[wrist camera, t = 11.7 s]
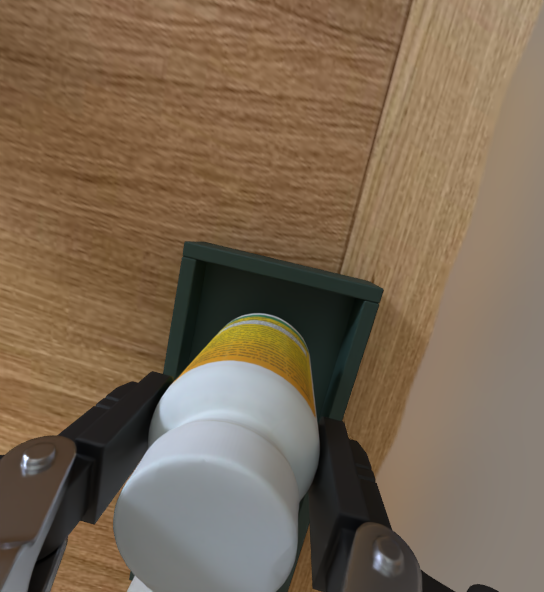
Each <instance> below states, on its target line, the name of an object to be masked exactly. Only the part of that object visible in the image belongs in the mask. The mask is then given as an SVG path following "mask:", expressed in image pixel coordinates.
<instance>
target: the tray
mask: <svg viewBox="0 0 544 592" xmlns="http://www.w3.org/2000/svg"><path fill="white" fill-rule="evenodd" d="M383 291H384V290H383V288H381V287H379V286H377V285H375V284H373V283H371V282H369V281H366V280H362V279H357V278H353V277H349V276H345V275H341V274H337V273H332V272H328V271H324V270H320V269H316V268H311V267H307V266H303V265H299V264H295V263H291V262H286V261H282V260H278V259H274V258H270V257H265V256H261V255H257V254H253V253H249V252H245V251H240V250H236V249H232V248H228V247H224V246H219V245H215V244H211V243H207V242H189V241H186V242H185V243H184V249H183V257H182V261H181V268H180V274H179V280H178V286H177V292H176V298H175V304H174V310H173V316H172V322H171V329H170V335H169V341H168V347H167V353H166V359H165V365H164V371H163V374H165V375H169V376H172V377H173V379H174V381H175V380H176V379H177V378H178V377H179V376H180V375H181V374H182V373H183V371H184V370H185V369H186V368H187V367H188V366H189V365H190V364H191V362H192V361H193V360H194V359H195V358H196V357H197V356H198V355H199V353H200V352H201V351H202V350H203V349H204V348H205V347H206V346H207V345H208V344H209V343H210V341H211V340H212V339H213V338H214V337H215V336H216V335H217V334H218V333H219V332H220V331H221V330H222V329H223V328H224V327H225V326H226V325H227V324H228V323H230V322H231V321H233V320H234V319H236V318H238V317H240V316H243V315H247V314H253V313H262V314H269V315H273V316H276V317H278V318H280V319H282V320H284V321H286V322H287V323H289V324H290V325H291V326H292V327H293V328H294V329H296V330H297V332H298V333H299V334H300V335H301V336H302V338H303V339H304V341H305V343H306V346H307V348H308V351H309V355H310V363H311V371H312V380H313V389H314V398H315V407H316V416H317V423H318V425H319V422H320V419H321V417H322V416H324V417H328V418H332V419H335V420H339V421H342V420H343V417H344V413H345V410H346V407H347V404H348V401H349V398H350V395H351V392H352V388H353V385H354V382H355V379H356V376H357V373H358V370H359V366H360V363H361V360H362V357H363V354H364V351H365V348H366V344H367V341H368V338H369V335H370V332H371V329H372V326H373V323H374V319H375V316H376V313H377V310H378V307H379V304H378V303H380V300H381V297H382V294H383ZM174 381H173V382H174ZM309 523H310V520H309V498H308V491H307V493H306V494H305V495H304V497H303V498H302V499H301V501H300V502H299V512H298V545H297V553H296V558H295V562H294V565H293V567H292V570H291V572H290V574H289V576H288V578H287V579H286V581H285V582H284V584H283V585H282V586H281V587H280V588H279V589H278V590H277V591H276V592H288V589H289V586H290V583H291V580H292V577H293V573H294V570H295V567H296V564H297V561H298V558H299V555H300V551H301V548H302V545H303V542H304V539H305V536H306V533H307V530H308V526H309ZM134 576H135V575H134V574H133V573H132V572H130V578H129V580H133V578H134Z"/></svg>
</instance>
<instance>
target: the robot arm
mask: <svg viewBox="0 0 544 592" xmlns="http://www.w3.org/2000/svg"><path fill="white" fill-rule="evenodd" d="M173 381H174V379H173V377H172V376H169V375H165V374H161V373H157V372H154V371H152V372H150V373H149V374H148V375H147V376H146V377H144V378H143V379H142V380H141V381H140V382H139V383H137V382H133V381H132V382H129V383H127V384H124V385H122V386H119V387H117V388H116V389H115V390H113V391H112V392H111V393H110V394H108V395H107V396H106V398H103V399H102V400H101V401H100V402H98V403H97V404H96V406H93V407H92V408H91V409H90V410H88V411H87V412H86V413H85V414H83V415H82V416H81V417H80V418H78V419H77V420H76V421H75V422H73V423H72V424H71V425H70V426H68V427H67V428H66V429H65V430H63V431H62V432H61V433H60V434H59V435H57V436H53V435H52V436H43V437H38V438H34V439H31V440H28V441H26V442H24V443H21V444H19V445H18V446H16V447H14V448H13V449H11V450H10V451H9V452H8V453H6V454H5V455H0V592H50V591H51V588H52V585H53V582H54V579H55V577H56V574H57V571H58V568H59V565H60V563H61V560H62V557H63V554H64V551H65V549H66V545H67V541H68V535H69V534H70V533H71V531H72V530H73V529H74V528H75V526H76V525H77V524H78V522H79V521H83V522H87V523H90V524H94V525H95V523H96V522H97V520H98V519H99V518H100V516H101V515H102V513H103V512H104V511H105V509H106V508H107V506H108V505H109V504H110V502H111V501H112V499H113V498H114V497H115V495H116V494H117V493H118V491H119V490H120V488H121V487H122V486H123V484H124V483H125V481H126V480H127V479H128V477H129V476H130V474H131V473H132V472H133V470H134V469H135V467H136V466H137V465H138V463H139V462H140V461H141V459H142V458H143V456H144V455H145V453H146V451H147V450H148V449H149V448H148V436H149V428H150V423H151V420H152V416H153V413H154V411H155V408H156V406H157V404H158V403H159V401H160V399H161V397H162V396H163V395H164V393H165V392H166V390H167V389H168V388H169V386H170V385H171V384H172V383H173ZM318 431H319V440H320V455H319V462H318V467H317V471H316V474H315V477H314V479H313V482H312V484H311V486H310V488H309V490H308V498H309V520H310V542H311V564H312V586H313V589H315V590H318V591H322V592H455V591H453V590H451V589H450V588H448V587H446V586H445V585H443V584H441V583H440V582H438V581H436V580H435V579H433V578H432V577H430V576H428V575H427V574H426V573H425V572H423V571H422V570H421V569H420V566H419V563H418V561H417V559H416V557H415V555H414V553H413V552H412V550H411V549H410V547H409V546H408V545H407V544H406V542H405V541H404V540H403V539H402V538H401V537H400V536H399V535H397V534H396V533H395V532H394V531H392V528H391V525H390V523H389V519H388V516H387V513H386V510H385V507H384V504H383V501H382V498H381V495H380V492H379V489H378V486H377V483H375V477H374V474H373V471H371V465H370V462H369V459H368V456H367V454H366V452H365V451H364V450H363V448H362V447H361V446H360V444H359V443H358V442H357V441H355V440H351V439H349V438H348V435H347V431H346V427H345V424H344V422H343V421H339V420H335V419H332V418H328V417H324V416H322V417H321V419H320V422H319V425H318ZM467 592H498V591H497V590H495V589H493V588H491V587H488V586H485V585H480V584H476V585H472V586H470V587H469V589H468V590H467Z"/></svg>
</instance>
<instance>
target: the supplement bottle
mask: <svg viewBox="0 0 544 592" xmlns="http://www.w3.org/2000/svg"><path fill="white" fill-rule="evenodd" d="M148 448H149V449H148V450H147V451H146V453H145V455H144V456H143V458H142V460H141V462H140V463H139V465H138V466H137V468H136V469H135V471H134V472H133V474H132V475H131V477H130V478H129V480H128V481H127V483H126V484H125V486H124V488H123V489H122V491H121V493H120V496H119V498H118V500H117V503H116V507H115V511H114V519H113V530H114V536H115V540H116V544H117V547H118V550H119V552H120V554H121V556H122V558H123V559H124V561H125V563H126V565H127V566H128V568H129V569H130V570H131V572H132V573H133V574H134V575H135V576H136V577H137V578H138V579H139V580H140V581H141V582H142V583H144V584H145V585H146V587H148V588H149V589H151V590H152V591H153V592H276V591H277V590H278V589H279V588H280V587H281V586H282V585H283V584H284V582H285V581H286V579H287V578H288V576H289V574H290V572H291V570H292V567H293V565H294V562H295V558H296V553H297V545H298V512H299V502H300V501H301V499H302V498H303V497H304V495H305V494H306V493H307V491H308V490H309V488H310V486H311V484H312V482H313V479H314V477H315V474H316V471H317V467H318V462H319V455H320V440H319V431H318V423H317V416H316V407H315V398H314V389H313V380H312V371H311V363H310V355H309V351H308V348H307V346H306V343H305V341H304V339H303V338H302V336H301V335H300V334H299V333H298V332H297V330H296V329H294V328H293V327H292V326H291V325H290V324H289V323H287V322H286V321H284V320H282V319H280V318H278V317H276V316H273V315H269V314H262V313H253V314H247V315H243V316H240V317H238V318H236V319H234V320H233V321H231V322H230V323H228V324H227V325H226V326H225V327H224V328H223V329H222V330H221V331H220V332H219V333H218V334H217V335H216V336H215V337H214V338H213V339H212V340H211V341H210V343H209V344H208V345H207V346H206V347H205V348H204V349H203V350H202V351H201V352H200V353H199V355H198V356H197V357H196V358H195V359H194V360H193V361H192V362H191V364H190V365H189V366H188V367H187V368H186V369H185V370H184V371H183V373H182V374H181V375H180V376H179V377H178V378H177V379H176V380H175V381H174V382H173V383H172V384H171V385H170V386H169V388H168V389H167V390H166V392H165V393H164V395H163V396H162V397H161V399H160V401H159V403H158V404H157V406H156V408H155V411H154V413H153V416H152V420H151V423H150V428H149V436H148Z"/></svg>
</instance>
